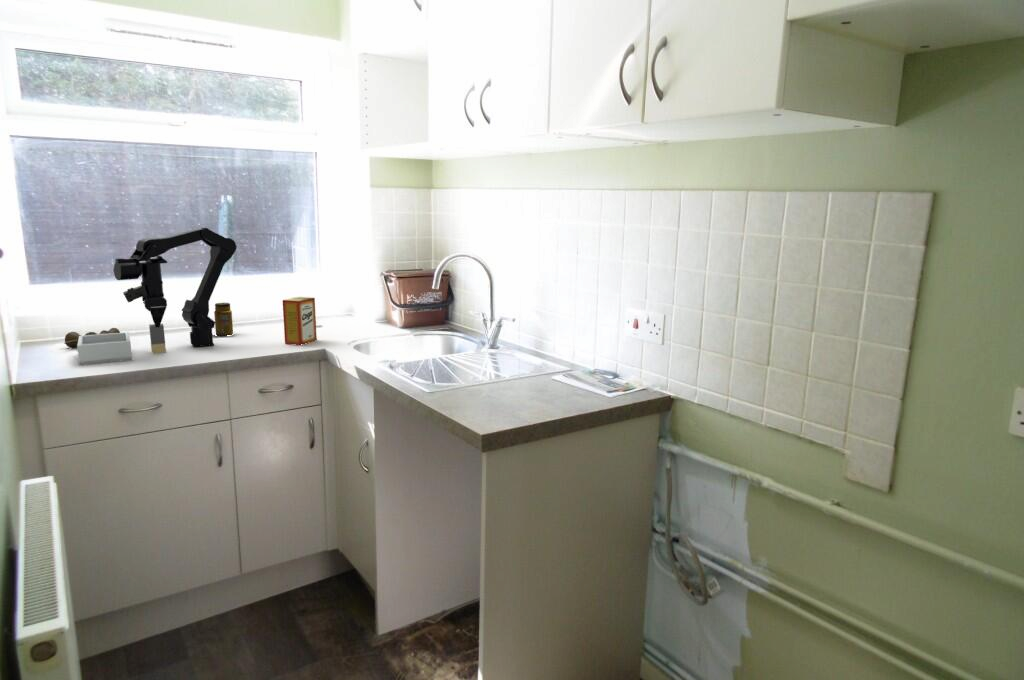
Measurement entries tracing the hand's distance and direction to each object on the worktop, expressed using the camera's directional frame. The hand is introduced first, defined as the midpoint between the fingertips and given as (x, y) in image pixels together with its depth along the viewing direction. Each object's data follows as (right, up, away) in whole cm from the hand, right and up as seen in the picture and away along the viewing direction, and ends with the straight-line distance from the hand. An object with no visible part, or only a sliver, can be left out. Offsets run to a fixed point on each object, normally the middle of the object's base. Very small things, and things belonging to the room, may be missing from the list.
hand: (156, 325), depth 221 cm
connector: (0, -9, +2) cm, 9 cm away
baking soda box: (+42, -6, +19) cm, 46 cm away
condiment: (+9, -3, +31) cm, 32 cm away
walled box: (-12, -10, -7) cm, 18 cm away
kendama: (-27, -7, +10) cm, 30 cm away
